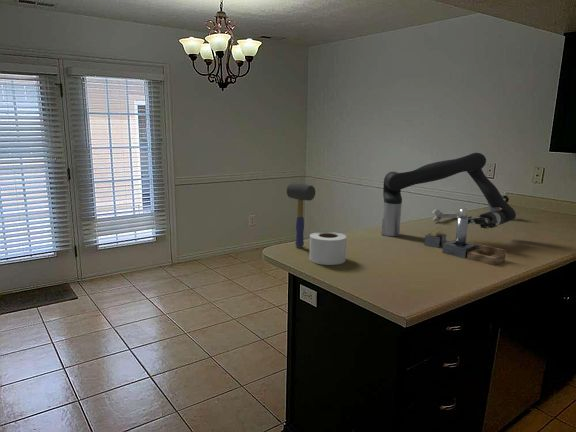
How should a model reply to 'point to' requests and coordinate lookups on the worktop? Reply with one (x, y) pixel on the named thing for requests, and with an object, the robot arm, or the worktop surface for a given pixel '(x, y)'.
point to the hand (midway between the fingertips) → (473, 224)
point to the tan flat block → (438, 231)
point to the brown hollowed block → (487, 255)
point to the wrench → (443, 215)
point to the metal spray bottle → (462, 228)
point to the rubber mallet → (300, 206)
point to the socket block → (458, 249)
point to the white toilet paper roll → (327, 248)
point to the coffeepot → (496, 207)
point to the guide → (435, 240)
